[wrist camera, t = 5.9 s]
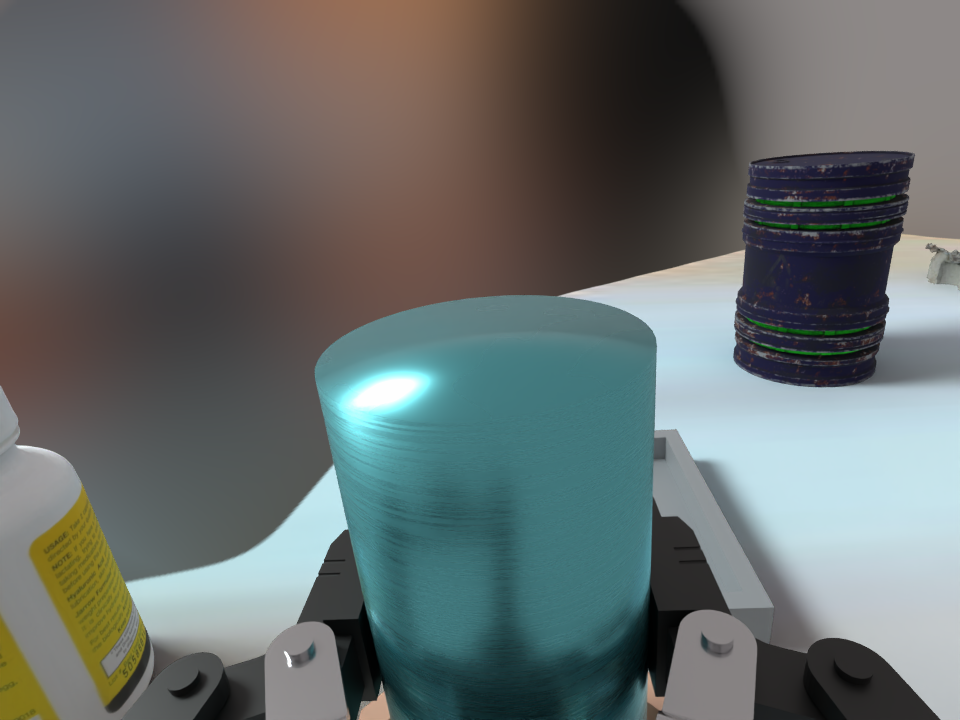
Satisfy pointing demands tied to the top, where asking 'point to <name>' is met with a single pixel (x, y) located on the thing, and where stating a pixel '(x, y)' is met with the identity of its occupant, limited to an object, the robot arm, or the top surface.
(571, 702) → the bottle
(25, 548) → the supplement bottle
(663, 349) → the top surface
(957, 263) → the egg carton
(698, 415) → the top surface
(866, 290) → the dark blue barrel
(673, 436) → the tray
